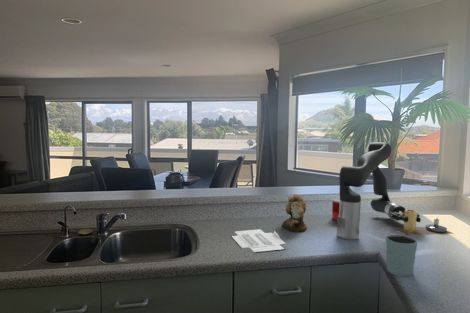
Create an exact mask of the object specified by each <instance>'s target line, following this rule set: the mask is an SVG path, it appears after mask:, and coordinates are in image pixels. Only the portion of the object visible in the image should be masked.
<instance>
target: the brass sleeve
mask: <svg viewBox="0 0 470 313" xmlns="http://www.w3.org/2000/svg"><path fill="white" fill-rule="evenodd" d="M405 209H406V208H405ZM417 214H418V211H417V210H415V209H411V208H410V209H409V208H407V209H406V210H405V213H404V216H405V217H407V218H408V222H404V221H403V227H404V229H403V230H404V231H406V232H411V233H414V232H416V227H417Z"/></svg>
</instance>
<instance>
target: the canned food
mask: <svg viewBox="0 0 470 313" xmlns="http://www.w3.org/2000/svg"><path fill="white" fill-rule="evenodd" d="M331 207H332V210H331V211H332V212H331V219H332V220H333V221H335V222H337V216H339V207H340V198H333V199H332V206H331Z"/></svg>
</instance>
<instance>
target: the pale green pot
mask: <svg viewBox="0 0 470 313" xmlns="http://www.w3.org/2000/svg"><path fill="white" fill-rule="evenodd" d="M385 243H386V244H385V245H386V246H385V247H386V253H385V254H386V256H385V257H386V271H387V272H388V273H390V274H392V275H394V276H398V277H411V276H412V275H413V274H414V264H415V260H416V253H417V252H416V250H417V246H418V240H417V239H416V238H413V237H412V236H411V237H410V236H409V235H403V234H402V235H401V234H390V235H386V236H385Z"/></svg>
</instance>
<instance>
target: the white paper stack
mask: <svg viewBox="0 0 470 313" xmlns="http://www.w3.org/2000/svg"><path fill="white" fill-rule="evenodd" d="M234 233H235V235H231V236H230V237H231V238H233V240H234V241H235V242H236V243H237V244H238V245H239V246H240V248H241V249H250V251H252V252H253V253H261V252H268V251H270V252H271V251H276V250H279V251H280V250H285V248H284V247H283V246H282V245H286V244H287V242H285V241H283V240H282V239H281V238H280V236H279V233H278V232H277V231H275V230H273V232H264V231H263V230H262V229H248V230H247V229H245V230H238V231H234Z"/></svg>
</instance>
